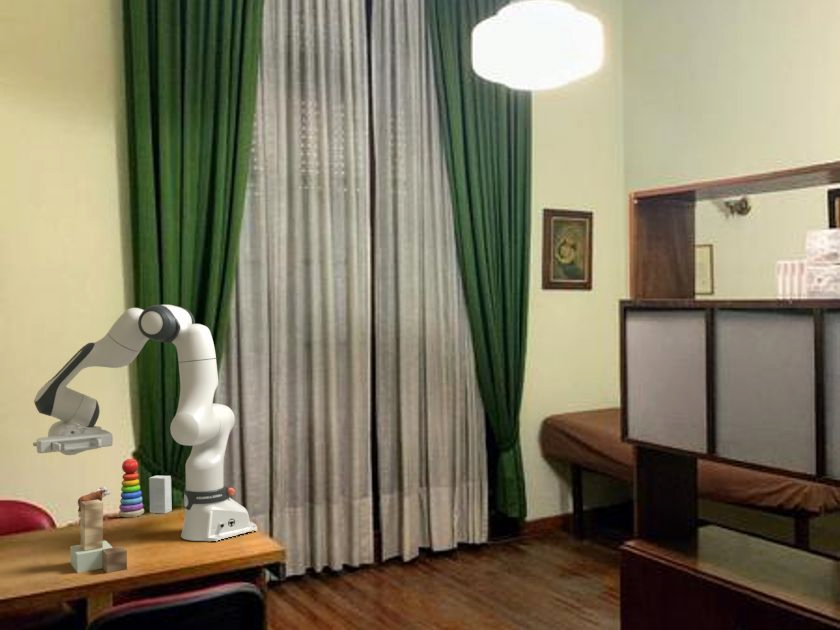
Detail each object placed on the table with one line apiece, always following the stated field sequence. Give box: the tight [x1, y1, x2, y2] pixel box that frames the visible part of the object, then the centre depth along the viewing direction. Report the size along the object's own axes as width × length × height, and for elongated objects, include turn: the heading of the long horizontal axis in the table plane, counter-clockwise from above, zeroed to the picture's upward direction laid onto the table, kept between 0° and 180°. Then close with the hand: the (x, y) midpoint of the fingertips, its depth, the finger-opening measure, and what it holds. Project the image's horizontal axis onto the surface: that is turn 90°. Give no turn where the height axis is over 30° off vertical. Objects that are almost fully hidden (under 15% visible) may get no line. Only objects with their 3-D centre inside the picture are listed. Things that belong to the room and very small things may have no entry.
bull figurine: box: [77, 486, 111, 518], centre depth 260 cm, size 4×13×8 cm, turn 161°
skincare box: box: [148, 475, 173, 515], centre depth 261 cm, size 6×4×12 cm
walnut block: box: [101, 545, 128, 574], centre depth 203 cm, size 5×5×5 cm
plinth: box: [69, 540, 114, 574], centre depth 206 cm, size 9×9×5 cm
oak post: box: [79, 500, 104, 550], centre depth 206 cm, size 4×4×12 cm
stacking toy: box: [118, 458, 145, 518], centre depth 258 cm, size 8×8×19 cm
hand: (80, 445), depth 218 cm, fingers open, 8 cm apart
